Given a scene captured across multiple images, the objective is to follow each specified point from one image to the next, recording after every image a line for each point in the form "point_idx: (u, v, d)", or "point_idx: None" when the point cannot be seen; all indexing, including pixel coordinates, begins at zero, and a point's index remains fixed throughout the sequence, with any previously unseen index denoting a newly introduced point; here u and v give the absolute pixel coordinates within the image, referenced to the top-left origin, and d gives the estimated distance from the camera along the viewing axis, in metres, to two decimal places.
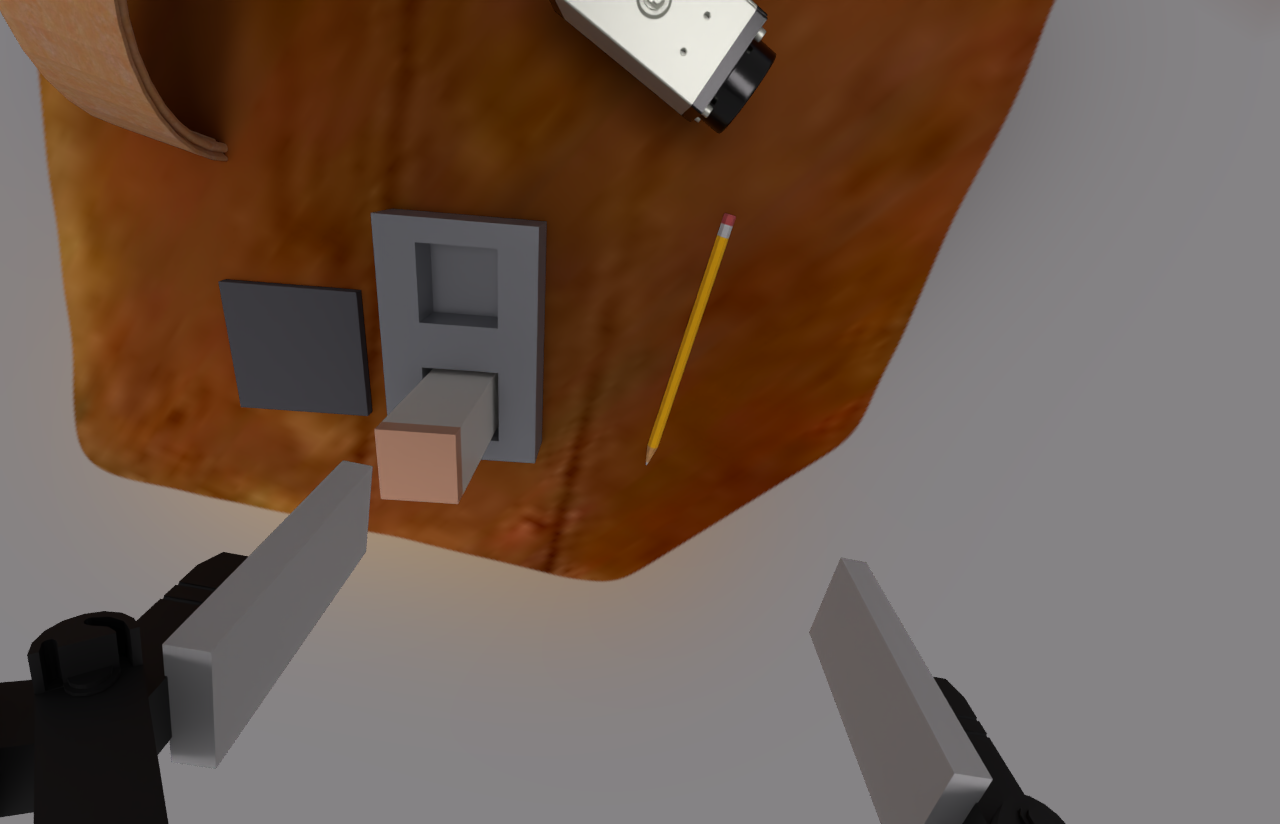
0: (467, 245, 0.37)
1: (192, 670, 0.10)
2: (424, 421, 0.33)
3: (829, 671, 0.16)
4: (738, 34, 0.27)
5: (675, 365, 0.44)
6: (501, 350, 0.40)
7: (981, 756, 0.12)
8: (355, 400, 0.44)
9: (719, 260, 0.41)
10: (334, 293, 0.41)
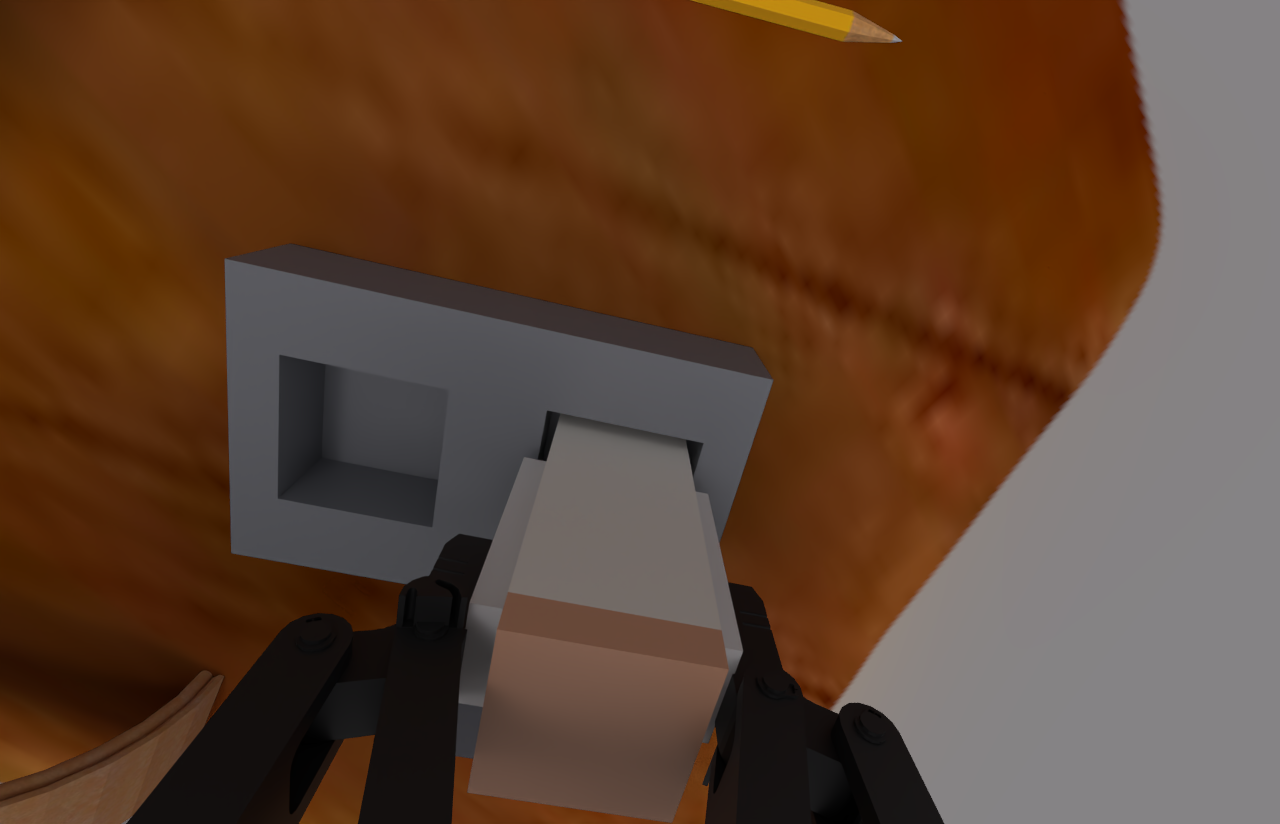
0: (275, 409, 0.19)
1: (488, 624, 0.12)
2: None
3: None
4: None
5: None
6: (497, 393, 0.19)
7: (755, 642, 0.14)
8: None
9: None
10: None
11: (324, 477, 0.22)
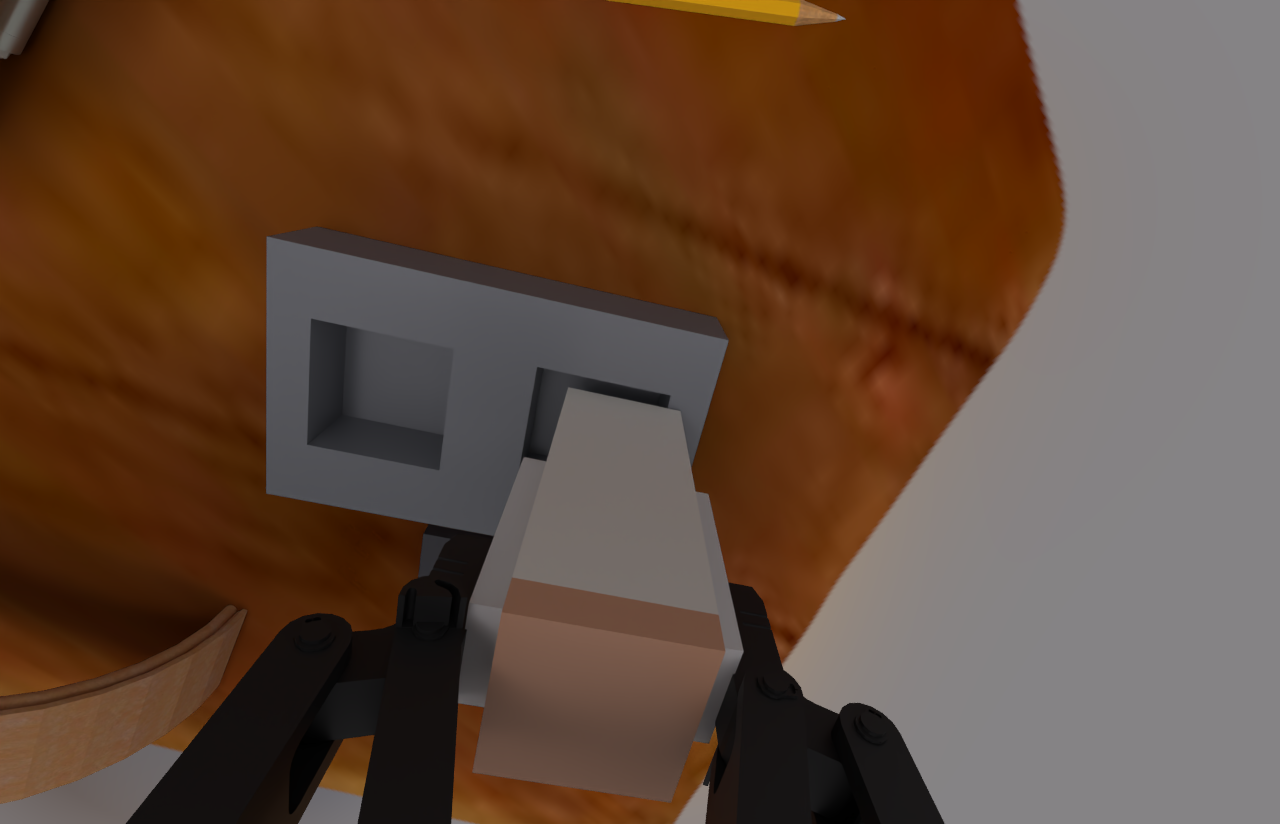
0: (306, 365, 0.22)
1: (488, 624, 0.12)
2: None
3: None
4: None
5: None
6: (494, 352, 0.22)
7: (756, 642, 0.14)
8: None
9: None
10: (424, 560, 0.28)
11: (345, 430, 0.25)
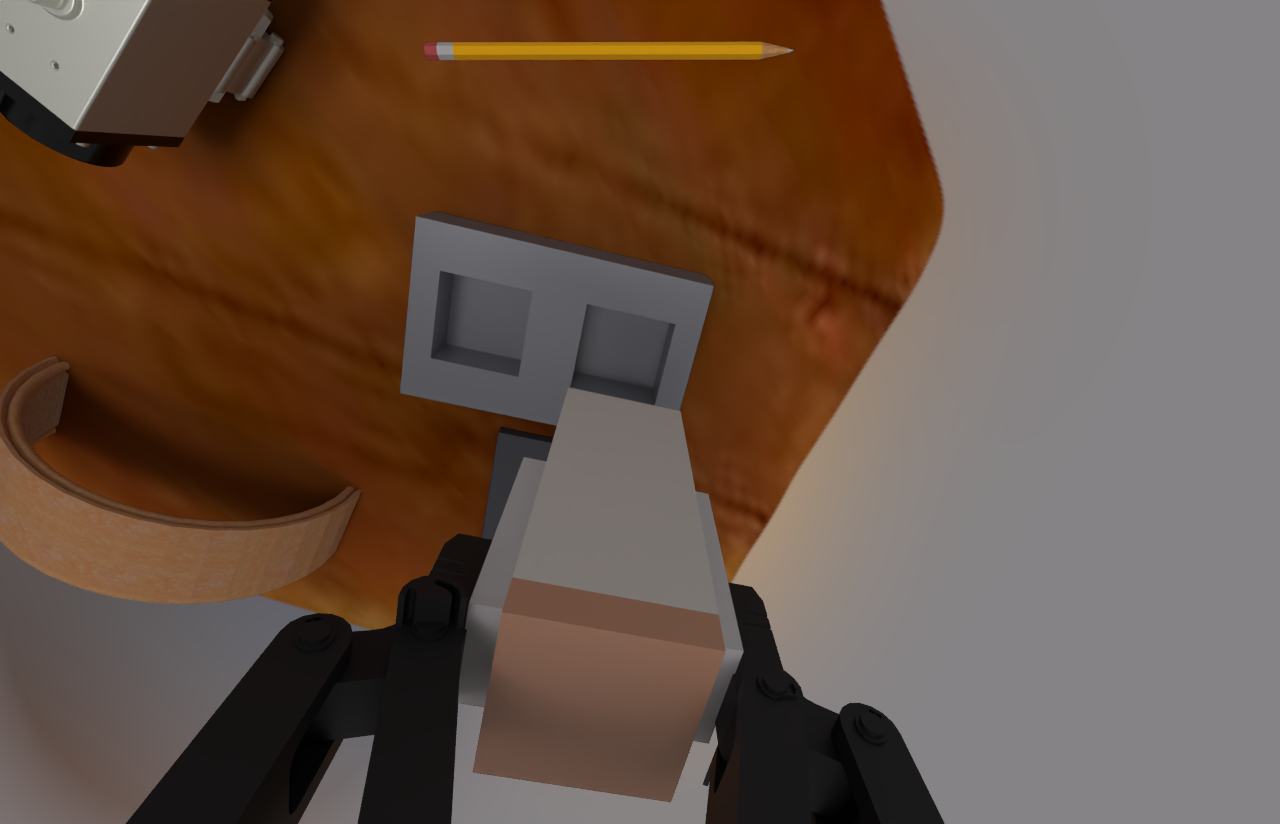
0: (434, 302, 0.33)
1: (488, 624, 0.12)
2: None
3: None
4: None
5: (633, 57, 0.32)
6: (559, 293, 0.33)
7: (756, 642, 0.14)
8: None
9: (480, 45, 0.31)
10: (498, 452, 0.40)
11: (451, 352, 0.36)
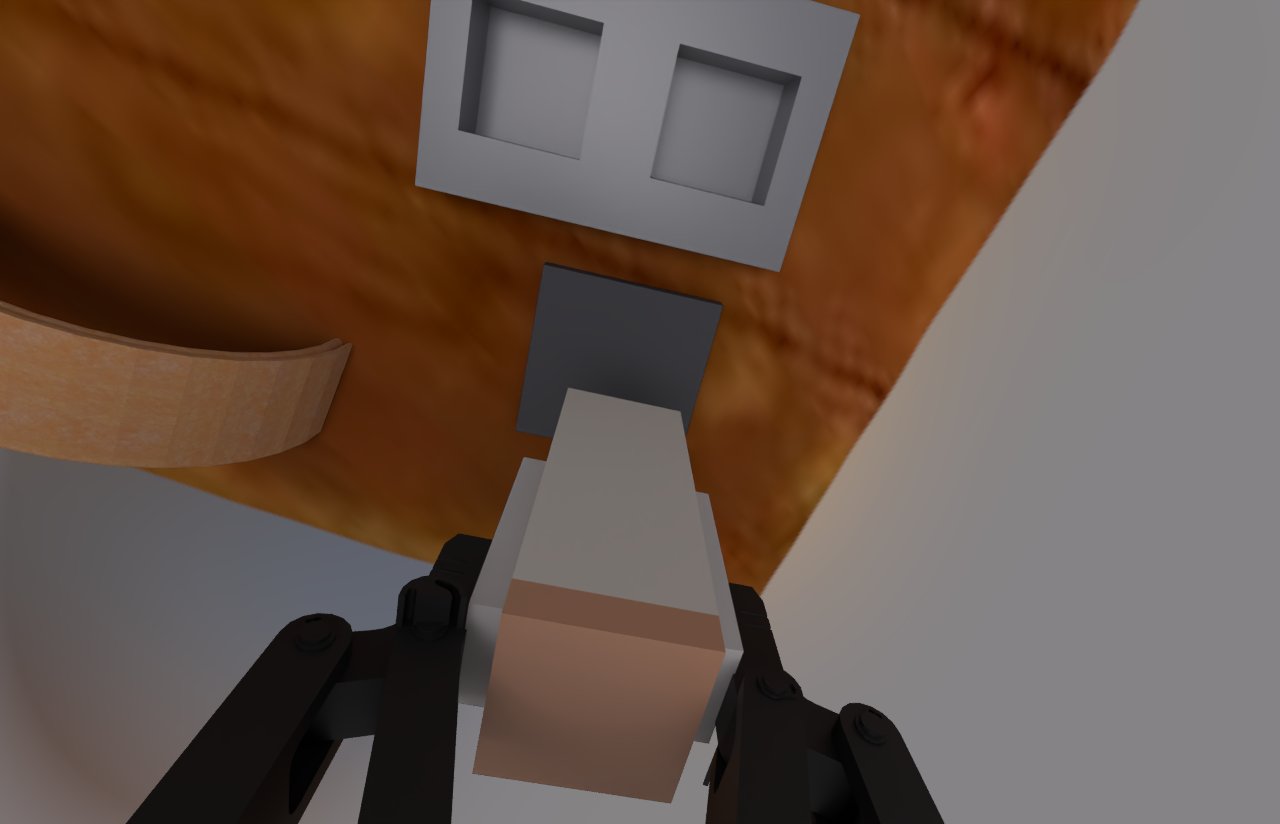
0: (465, 40, 0.24)
1: (488, 624, 0.12)
2: None
3: None
4: None
5: None
6: (641, 26, 0.23)
7: (756, 642, 0.14)
8: (696, 315, 0.30)
9: None
10: (542, 294, 0.30)
11: (484, 136, 0.26)
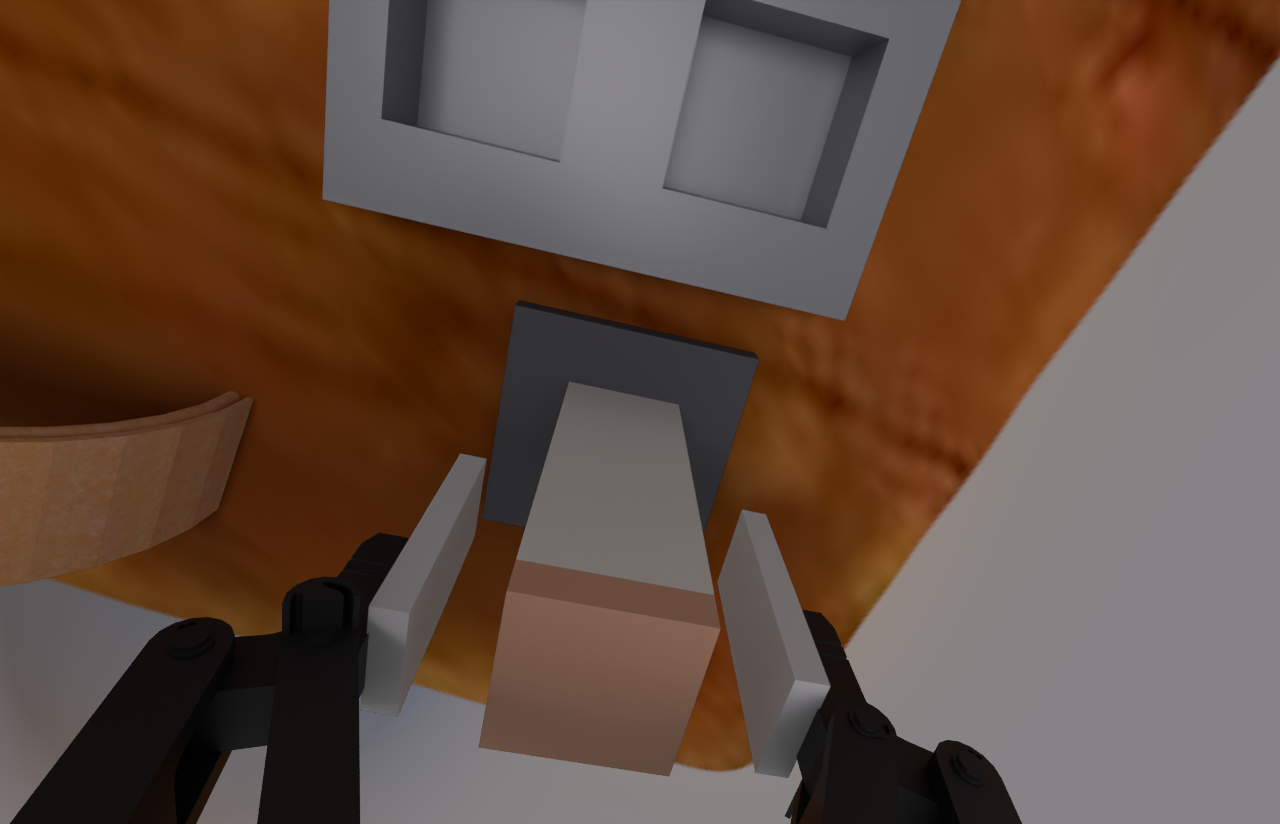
0: None
1: (390, 628, 0.12)
2: None
3: (727, 613, 0.17)
4: None
5: None
6: None
7: (835, 673, 0.14)
8: (723, 372, 0.23)
9: None
10: (514, 344, 0.22)
11: (426, 128, 0.19)
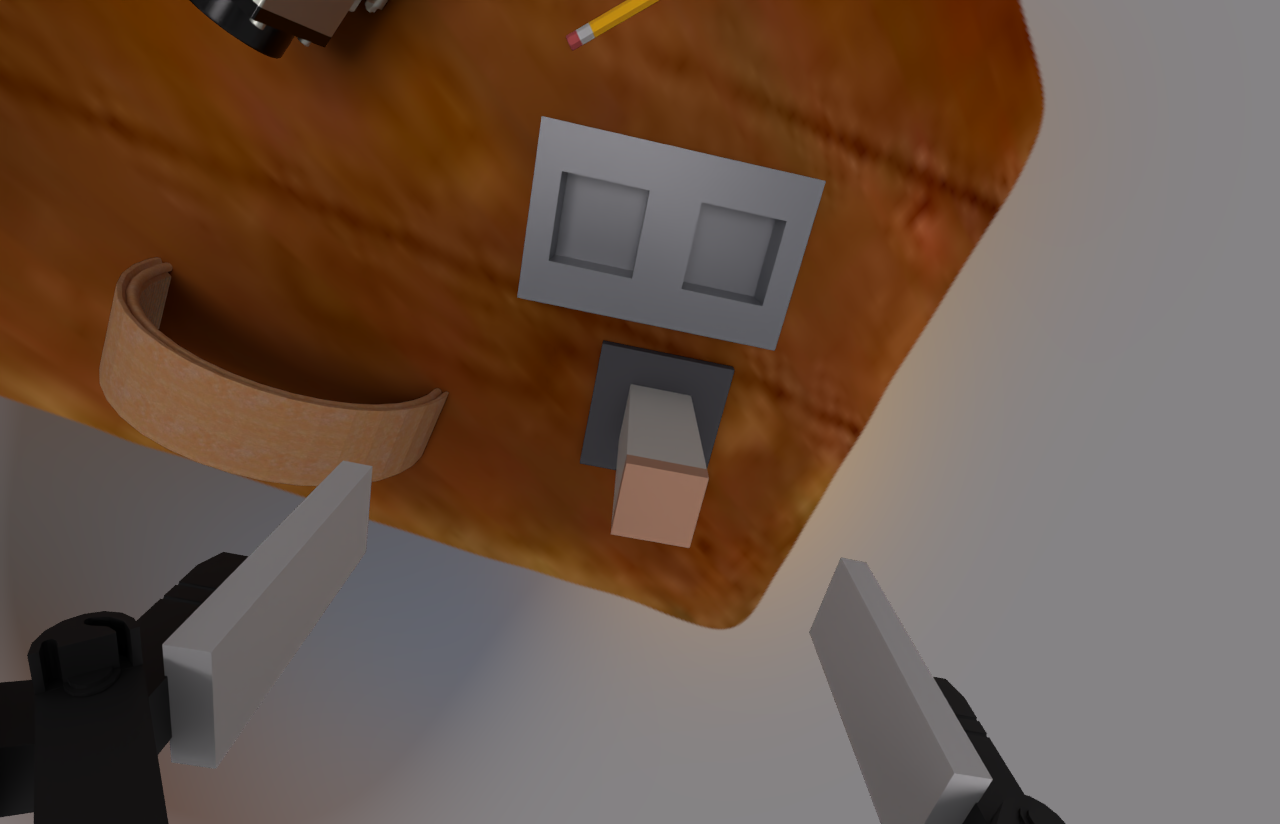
0: (555, 204, 0.35)
1: (192, 670, 0.10)
2: (619, 485, 0.32)
3: (829, 671, 0.16)
4: None
5: None
6: (675, 192, 0.34)
7: (980, 755, 0.12)
8: (715, 377, 0.41)
9: (612, 11, 0.34)
10: (601, 364, 0.41)
11: (563, 259, 0.37)
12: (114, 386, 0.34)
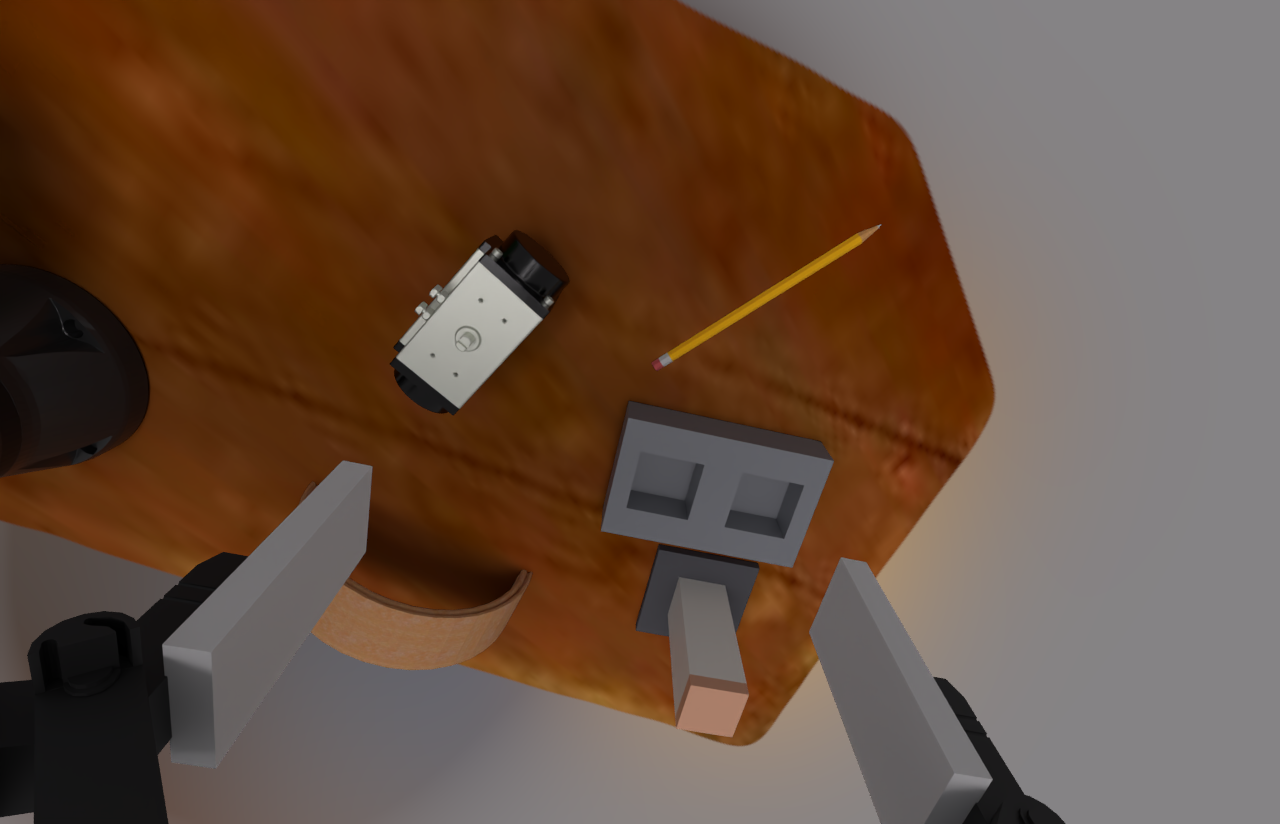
0: (634, 472, 0.47)
1: (192, 670, 0.10)
2: (682, 690, 0.44)
3: (829, 671, 0.16)
4: (495, 277, 0.34)
5: (780, 293, 0.45)
6: (723, 466, 0.46)
7: (980, 756, 0.12)
8: (744, 573, 0.53)
9: (685, 345, 0.46)
10: (657, 563, 0.53)
11: (634, 498, 0.49)
12: None
